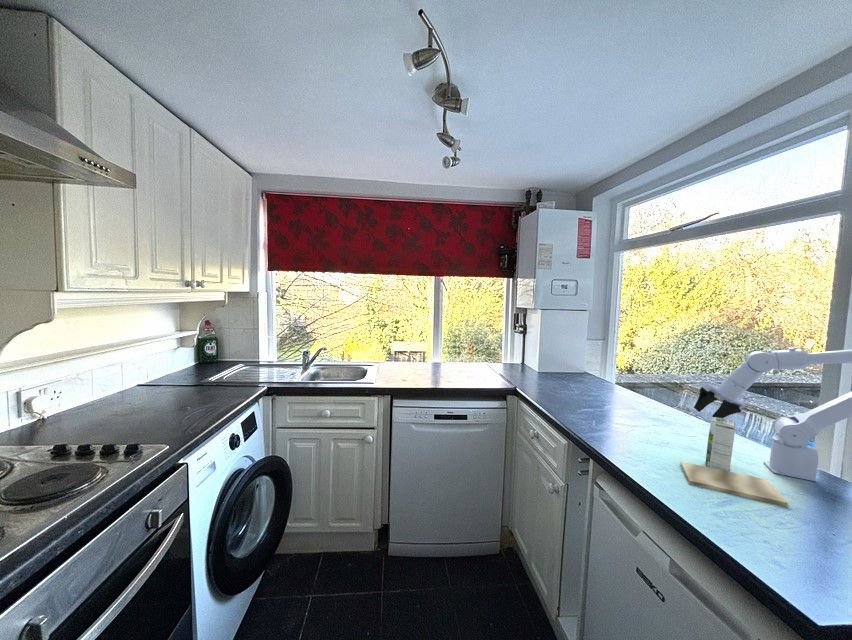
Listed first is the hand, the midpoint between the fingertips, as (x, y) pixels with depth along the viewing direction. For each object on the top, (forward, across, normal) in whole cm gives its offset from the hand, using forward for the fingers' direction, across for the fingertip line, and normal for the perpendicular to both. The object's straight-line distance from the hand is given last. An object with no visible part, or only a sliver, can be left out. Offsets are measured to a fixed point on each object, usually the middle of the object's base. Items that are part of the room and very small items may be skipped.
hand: (705, 414), depth 117 cm
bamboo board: (+8, +4, +24) cm, 26 cm away
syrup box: (+10, -1, +14) cm, 17 cm away
